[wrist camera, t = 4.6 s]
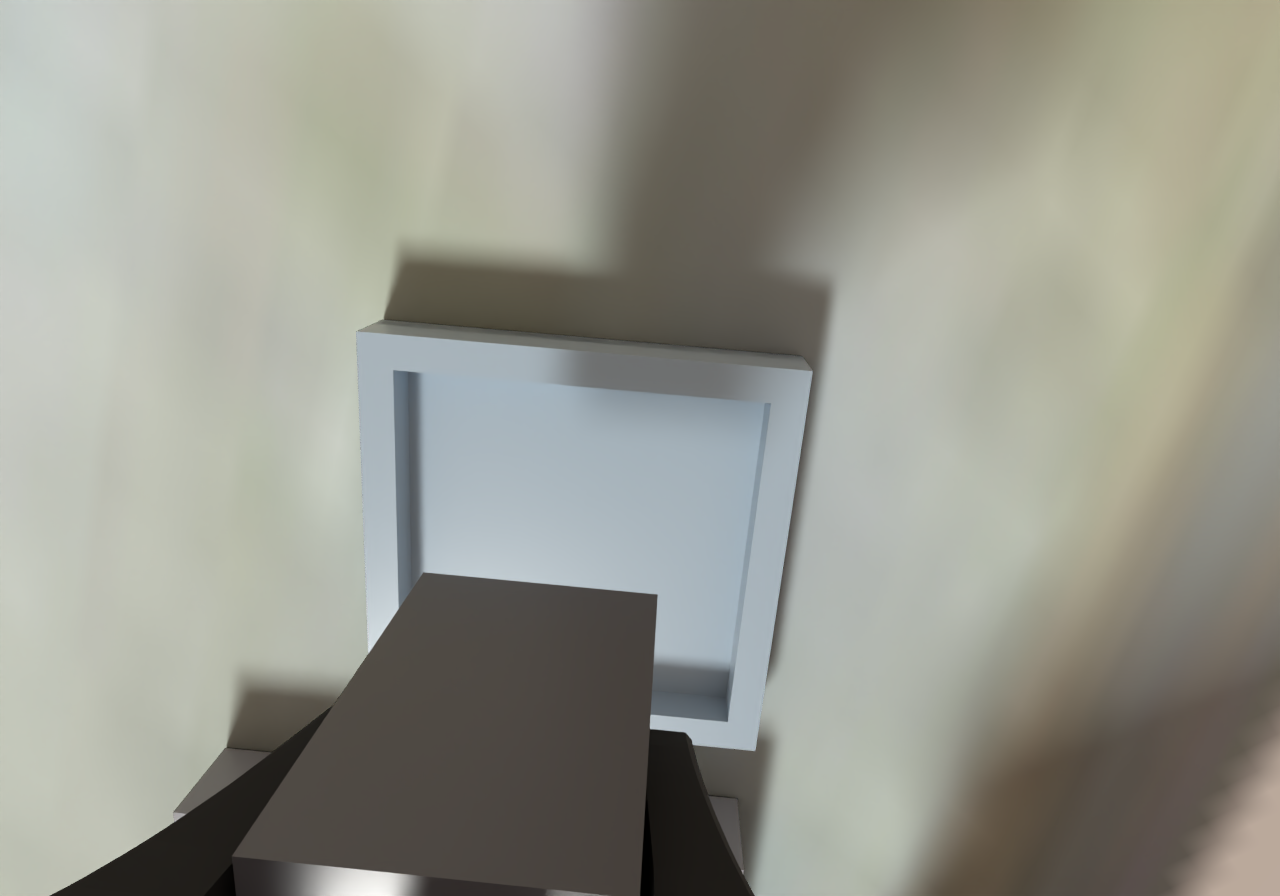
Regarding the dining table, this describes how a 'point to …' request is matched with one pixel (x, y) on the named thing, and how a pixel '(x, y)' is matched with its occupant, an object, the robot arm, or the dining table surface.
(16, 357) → the dining table surface
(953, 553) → the dining table surface
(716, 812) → the power strip
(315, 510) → the dining table surface
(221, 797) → the robot arm
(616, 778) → the plug
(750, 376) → the tray
